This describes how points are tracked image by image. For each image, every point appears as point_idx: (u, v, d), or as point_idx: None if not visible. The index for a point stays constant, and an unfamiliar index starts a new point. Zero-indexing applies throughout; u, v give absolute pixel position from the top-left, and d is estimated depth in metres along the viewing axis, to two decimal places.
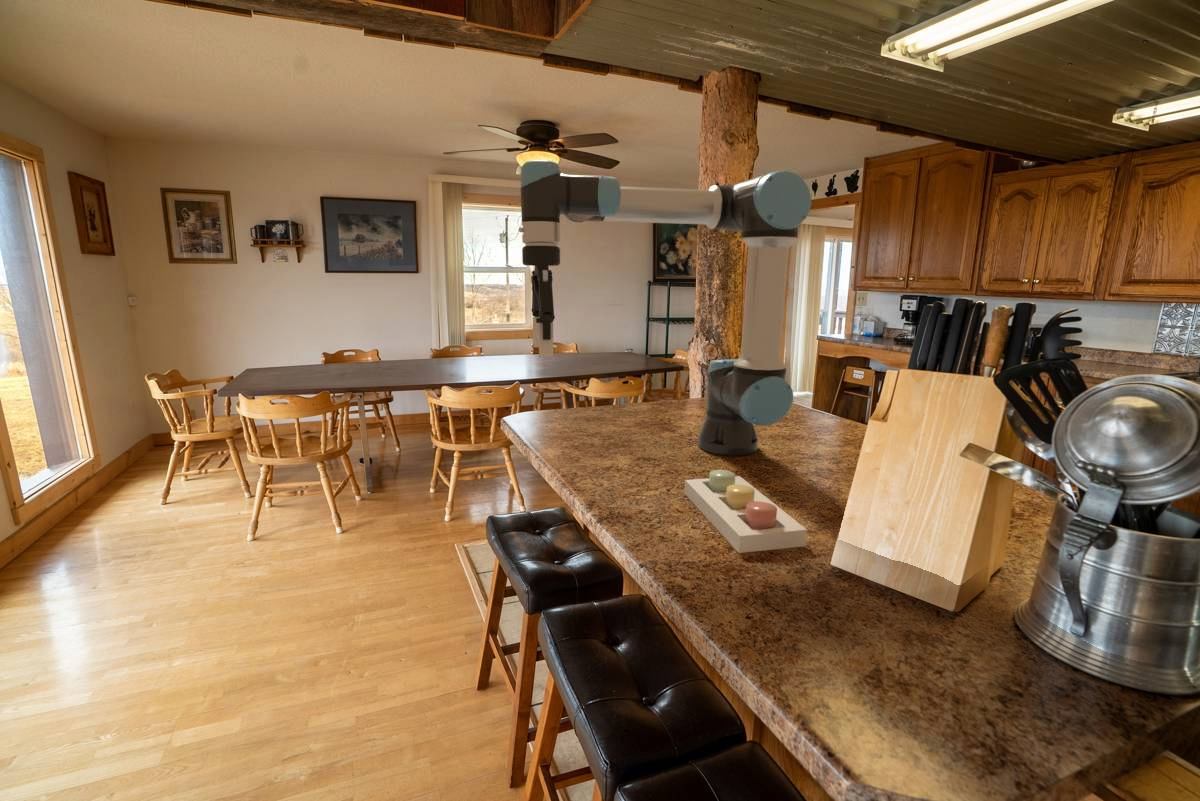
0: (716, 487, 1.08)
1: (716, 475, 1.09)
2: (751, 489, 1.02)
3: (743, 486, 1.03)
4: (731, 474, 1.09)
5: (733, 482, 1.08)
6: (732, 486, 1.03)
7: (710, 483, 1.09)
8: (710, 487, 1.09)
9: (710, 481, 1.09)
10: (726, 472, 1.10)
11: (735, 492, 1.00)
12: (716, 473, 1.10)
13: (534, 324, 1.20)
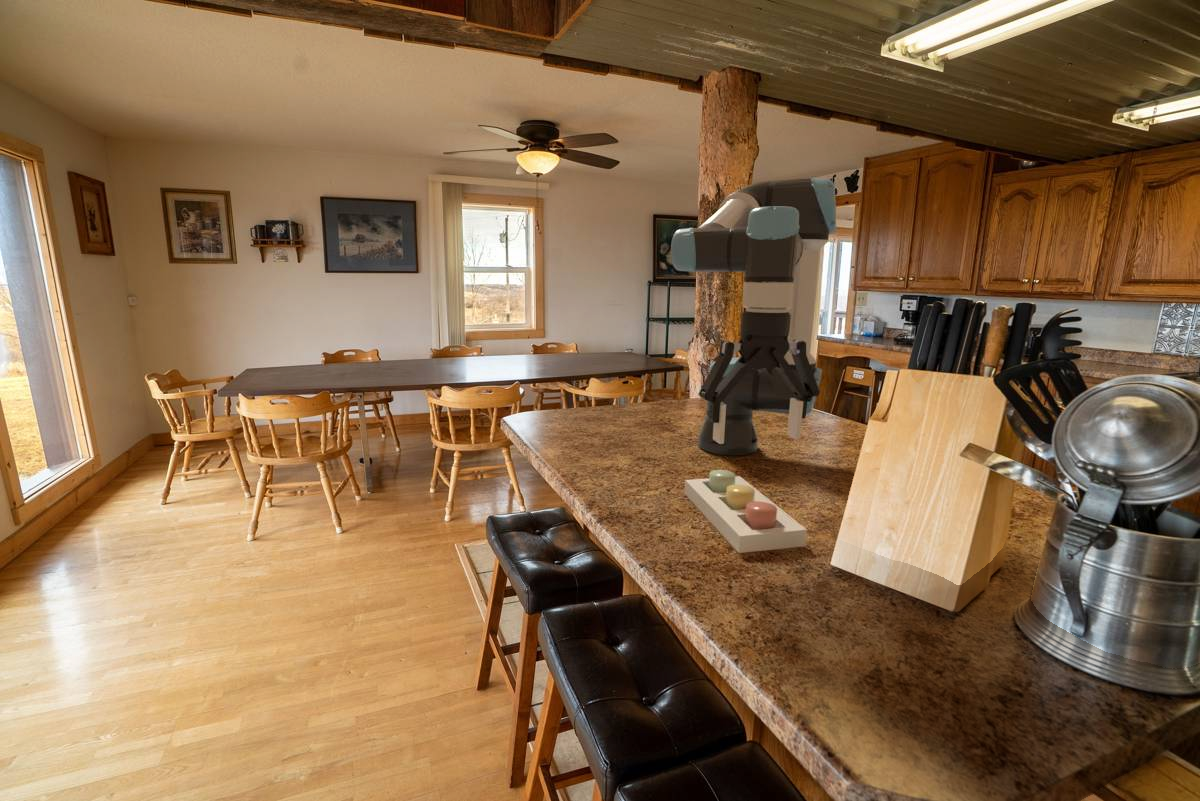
0: (716, 487, 1.08)
1: (716, 475, 1.09)
2: (751, 489, 1.02)
3: (743, 486, 1.03)
4: (731, 474, 1.09)
5: (733, 482, 1.08)
6: (732, 486, 1.03)
7: (710, 483, 1.09)
8: (710, 487, 1.09)
9: (710, 481, 1.09)
10: (726, 472, 1.10)
11: (735, 492, 1.00)
12: (716, 473, 1.10)
13: (790, 407, 0.93)
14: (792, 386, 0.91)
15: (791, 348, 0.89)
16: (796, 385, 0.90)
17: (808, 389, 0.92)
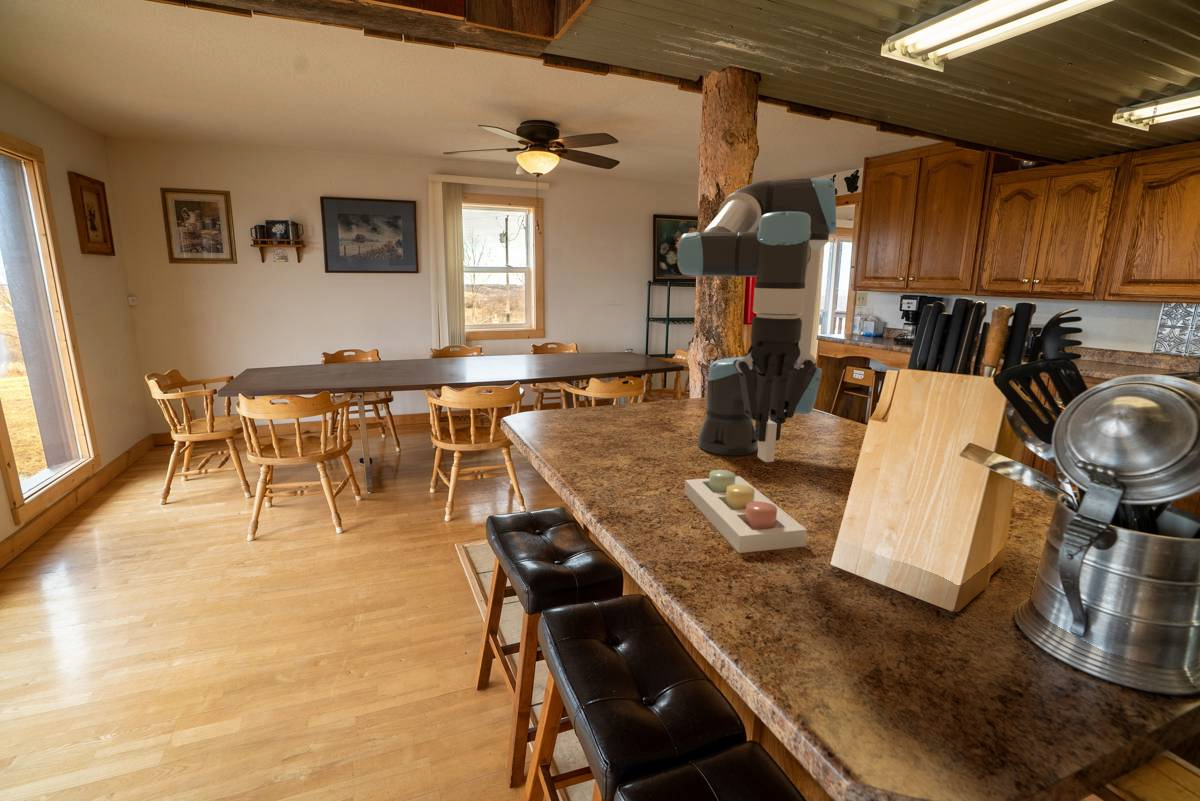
0: (716, 487, 1.08)
1: (716, 475, 1.09)
2: (751, 489, 1.02)
3: (743, 486, 1.03)
4: (731, 474, 1.09)
5: (733, 482, 1.08)
6: (732, 486, 1.03)
7: (710, 483, 1.09)
8: (710, 487, 1.09)
9: (710, 481, 1.09)
10: (726, 472, 1.10)
11: (735, 492, 1.00)
12: (716, 473, 1.10)
13: None
14: (775, 401, 0.90)
15: (798, 360, 0.89)
16: (780, 401, 0.89)
17: None
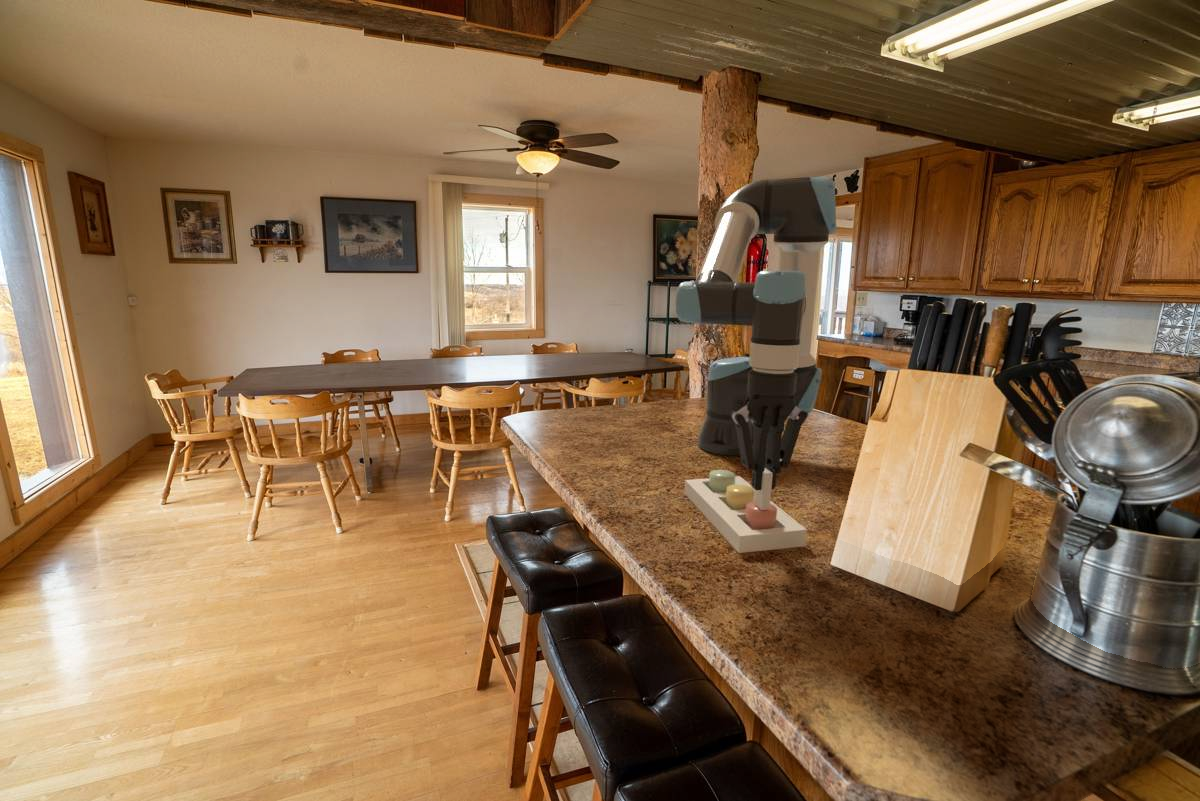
0: (716, 487, 1.08)
1: (716, 475, 1.09)
2: (751, 489, 1.02)
3: (743, 486, 1.03)
4: (731, 474, 1.09)
5: (733, 482, 1.08)
6: (732, 486, 1.03)
7: (710, 483, 1.09)
8: (710, 487, 1.09)
9: (710, 481, 1.09)
10: (726, 472, 1.10)
11: (735, 492, 1.00)
12: (716, 473, 1.10)
13: None
14: (771, 451, 0.92)
15: (793, 411, 0.91)
16: (776, 452, 0.91)
17: None
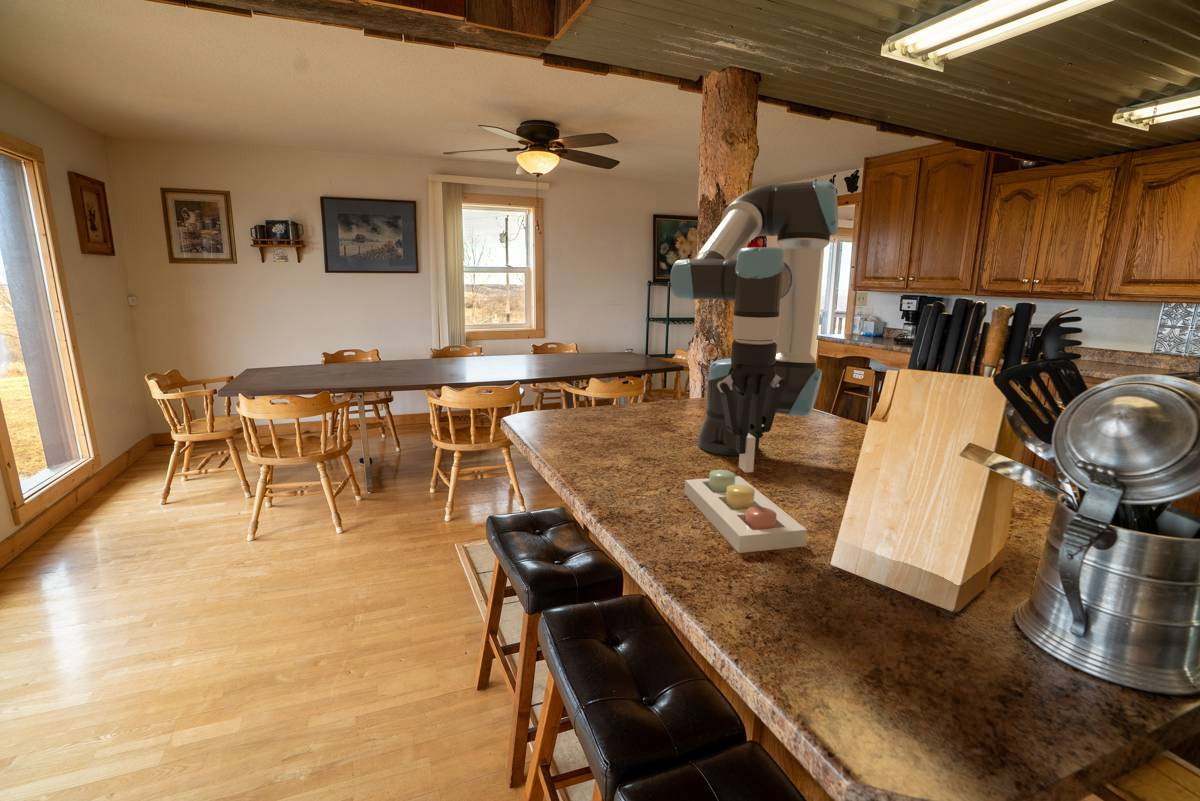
0: (716, 487, 1.08)
1: (716, 475, 1.09)
2: (751, 489, 1.02)
3: (743, 486, 1.03)
4: (731, 474, 1.09)
5: (733, 482, 1.08)
6: (732, 486, 1.03)
7: (710, 483, 1.09)
8: (710, 487, 1.09)
9: (710, 481, 1.09)
10: (726, 472, 1.10)
11: (735, 492, 1.00)
12: (716, 473, 1.10)
13: None
14: (754, 417, 0.98)
15: (774, 380, 0.97)
16: (758, 417, 0.98)
17: None
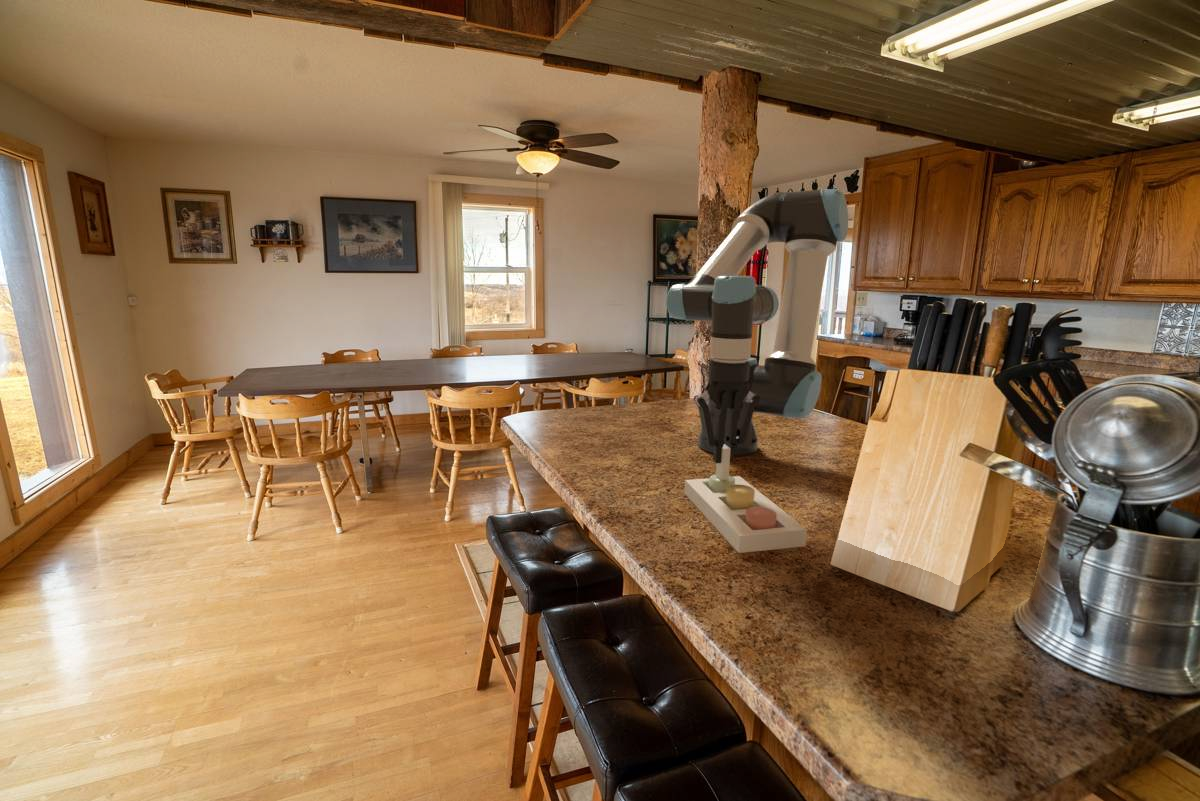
0: (715, 492, 1.08)
1: (716, 480, 1.09)
2: (751, 489, 1.02)
3: (743, 486, 1.03)
4: (730, 479, 1.09)
5: None
6: (732, 486, 1.03)
7: (710, 488, 1.09)
8: None
9: (710, 486, 1.09)
10: None
11: (735, 492, 1.00)
12: (716, 478, 1.10)
13: None
14: (729, 430, 1.07)
15: (748, 396, 1.06)
16: (733, 430, 1.06)
17: (735, 437, 1.08)
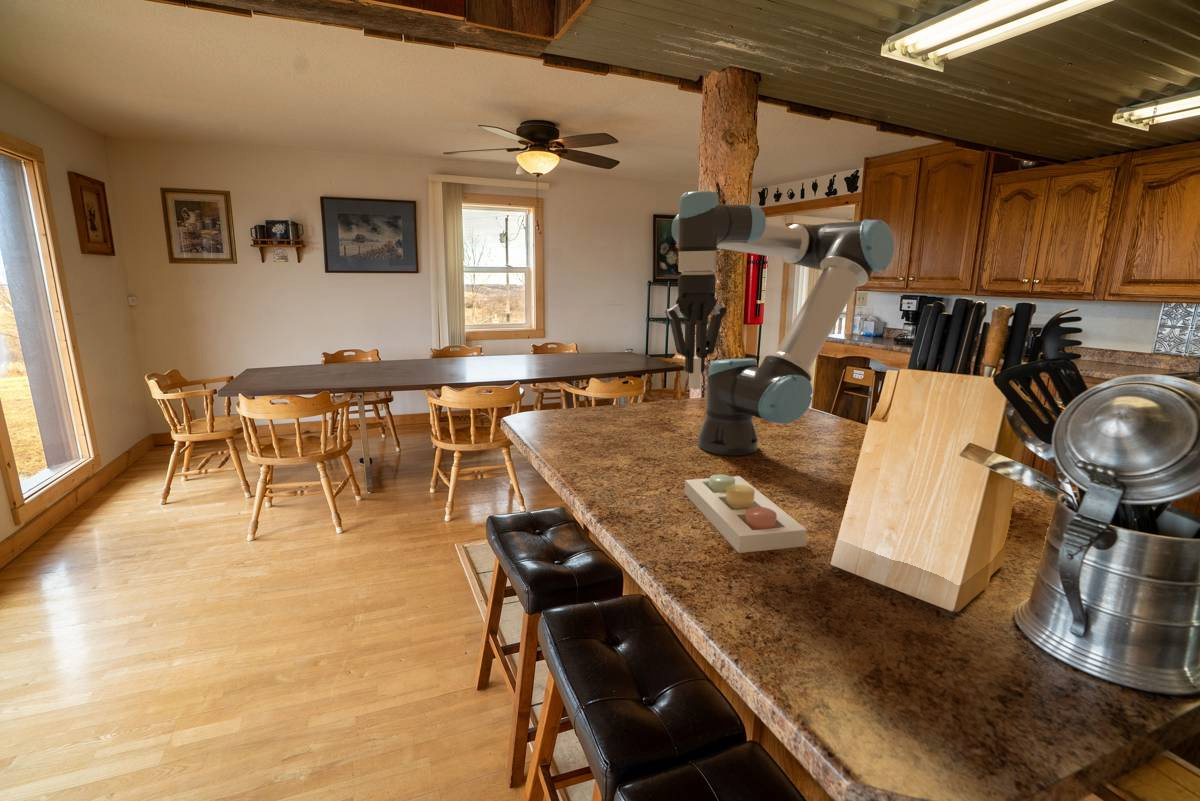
0: (715, 492, 1.08)
1: (716, 480, 1.09)
2: (751, 489, 1.02)
3: (743, 486, 1.03)
4: (730, 479, 1.09)
5: None
6: (732, 486, 1.03)
7: (710, 488, 1.09)
8: None
9: (710, 486, 1.09)
10: (726, 477, 1.11)
11: (735, 492, 1.00)
12: (716, 478, 1.10)
13: None
14: (699, 341, 1.15)
15: (715, 308, 1.14)
16: (703, 341, 1.14)
17: (705, 348, 1.16)
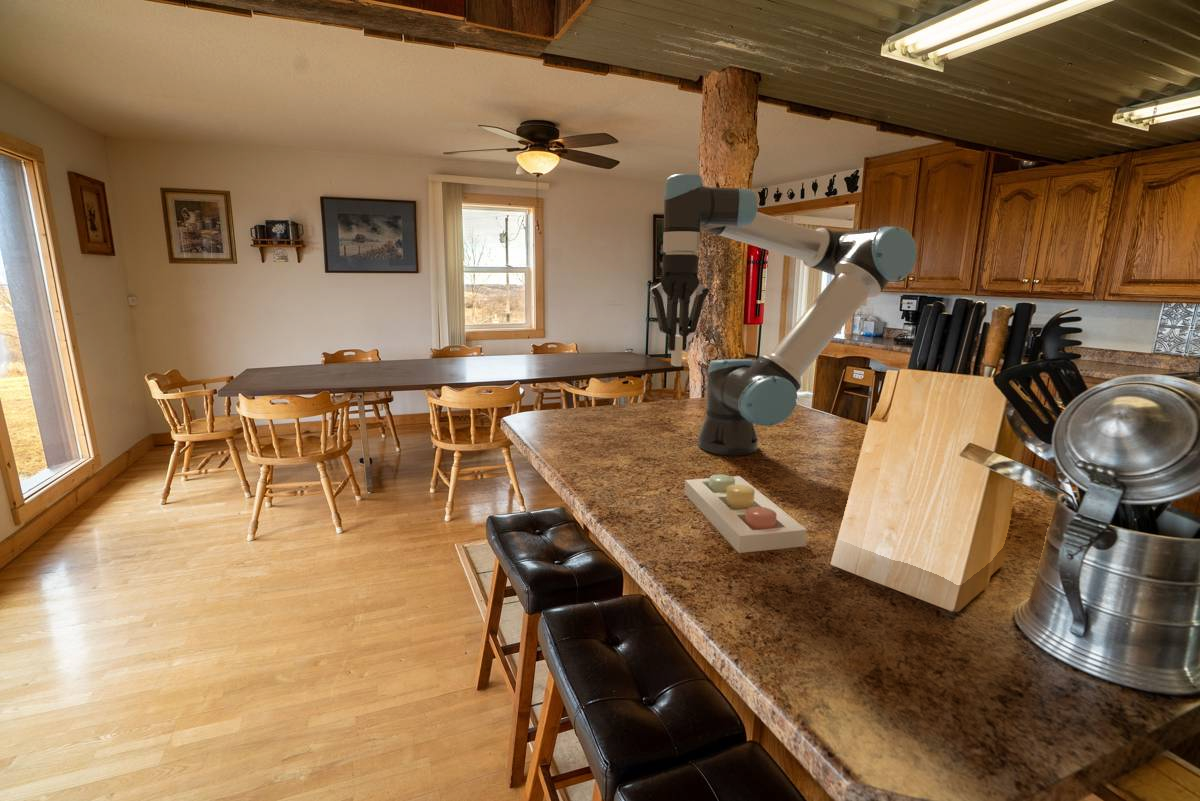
0: (715, 492, 1.08)
1: (716, 480, 1.09)
2: (751, 489, 1.02)
3: (743, 486, 1.03)
4: (730, 479, 1.09)
5: None
6: (732, 486, 1.03)
7: (710, 488, 1.09)
8: None
9: (710, 486, 1.09)
10: (726, 477, 1.11)
11: (735, 492, 1.00)
12: (716, 478, 1.10)
13: None
14: (681, 319, 1.19)
15: (698, 288, 1.18)
16: (685, 319, 1.18)
17: (687, 327, 1.20)
